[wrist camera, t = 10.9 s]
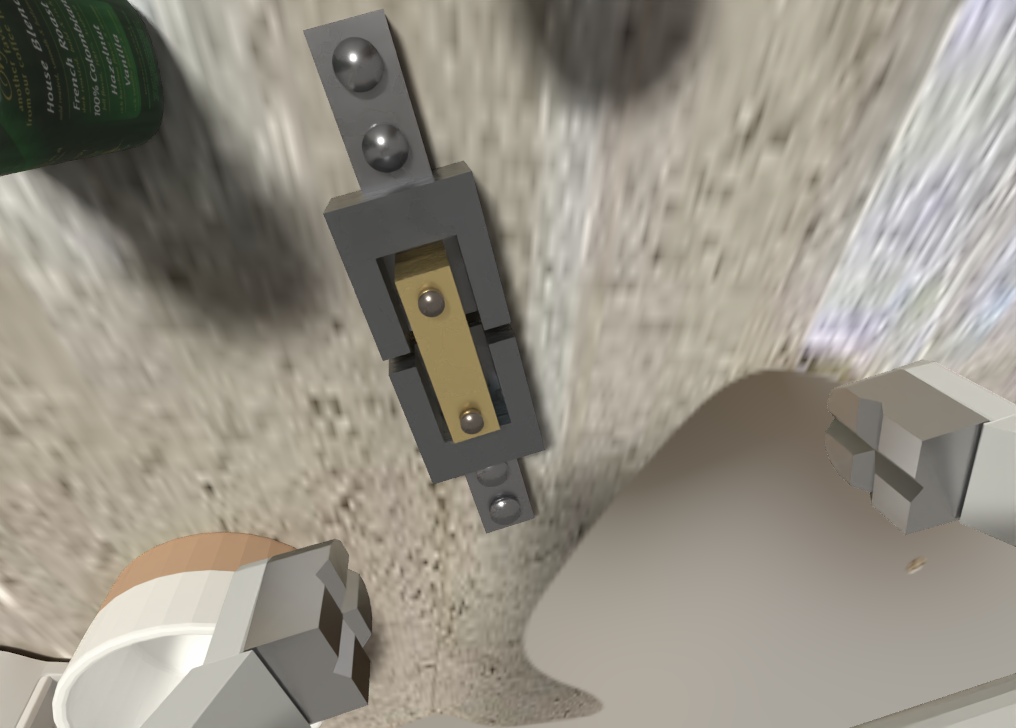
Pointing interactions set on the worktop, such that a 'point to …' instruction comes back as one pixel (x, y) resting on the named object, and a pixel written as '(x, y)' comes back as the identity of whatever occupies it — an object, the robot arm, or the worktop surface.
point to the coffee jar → (74, 81)
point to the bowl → (153, 629)
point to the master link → (445, 340)
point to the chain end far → (485, 455)
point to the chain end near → (396, 185)
